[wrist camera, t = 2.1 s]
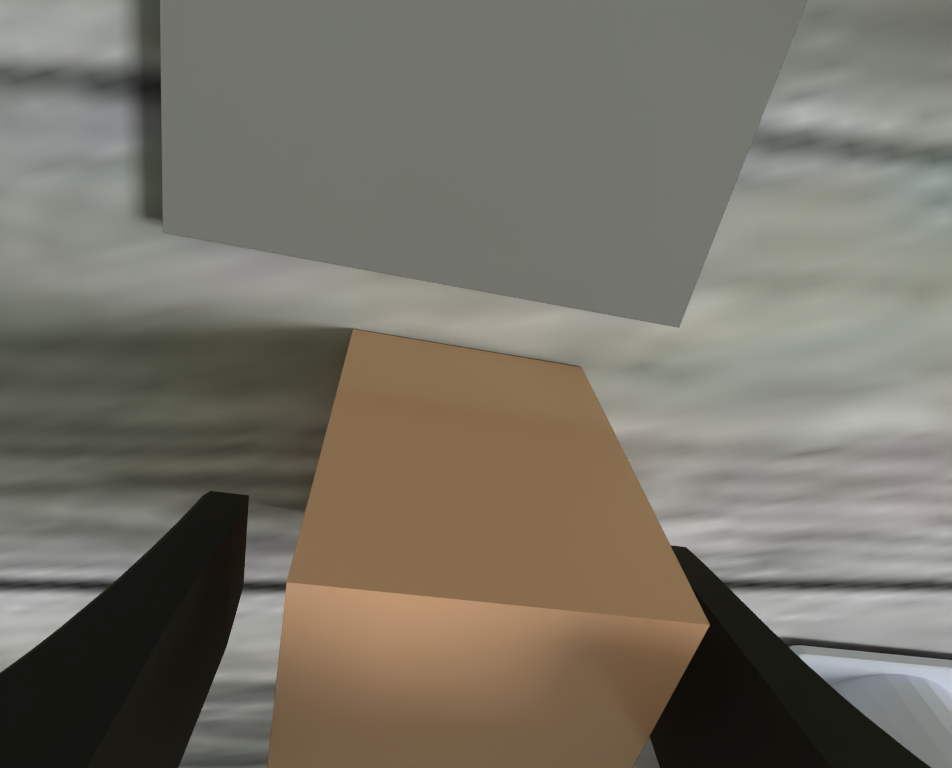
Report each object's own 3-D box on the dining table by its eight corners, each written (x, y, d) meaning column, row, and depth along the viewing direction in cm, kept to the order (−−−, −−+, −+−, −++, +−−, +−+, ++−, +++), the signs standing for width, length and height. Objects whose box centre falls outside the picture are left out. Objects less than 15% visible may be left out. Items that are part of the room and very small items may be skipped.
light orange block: (525, 539, 16) (588, 847, 10) (327, 516, 15) (260, 835, 9) (581, 367, 14) (709, 624, 8) (353, 328, 13) (287, 582, 7)
